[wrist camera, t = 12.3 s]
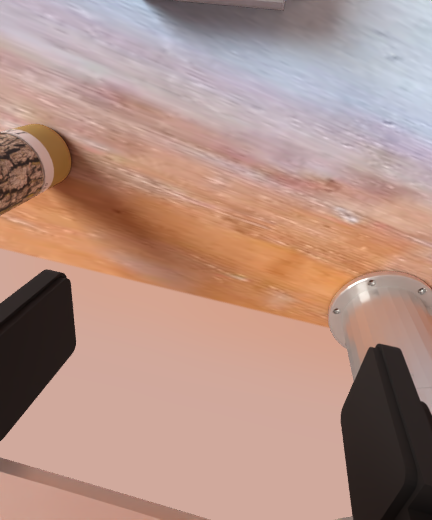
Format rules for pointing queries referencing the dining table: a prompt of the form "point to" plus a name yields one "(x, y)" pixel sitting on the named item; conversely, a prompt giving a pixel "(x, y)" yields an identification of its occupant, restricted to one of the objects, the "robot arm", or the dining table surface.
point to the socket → (246, 3)
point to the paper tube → (30, 163)
